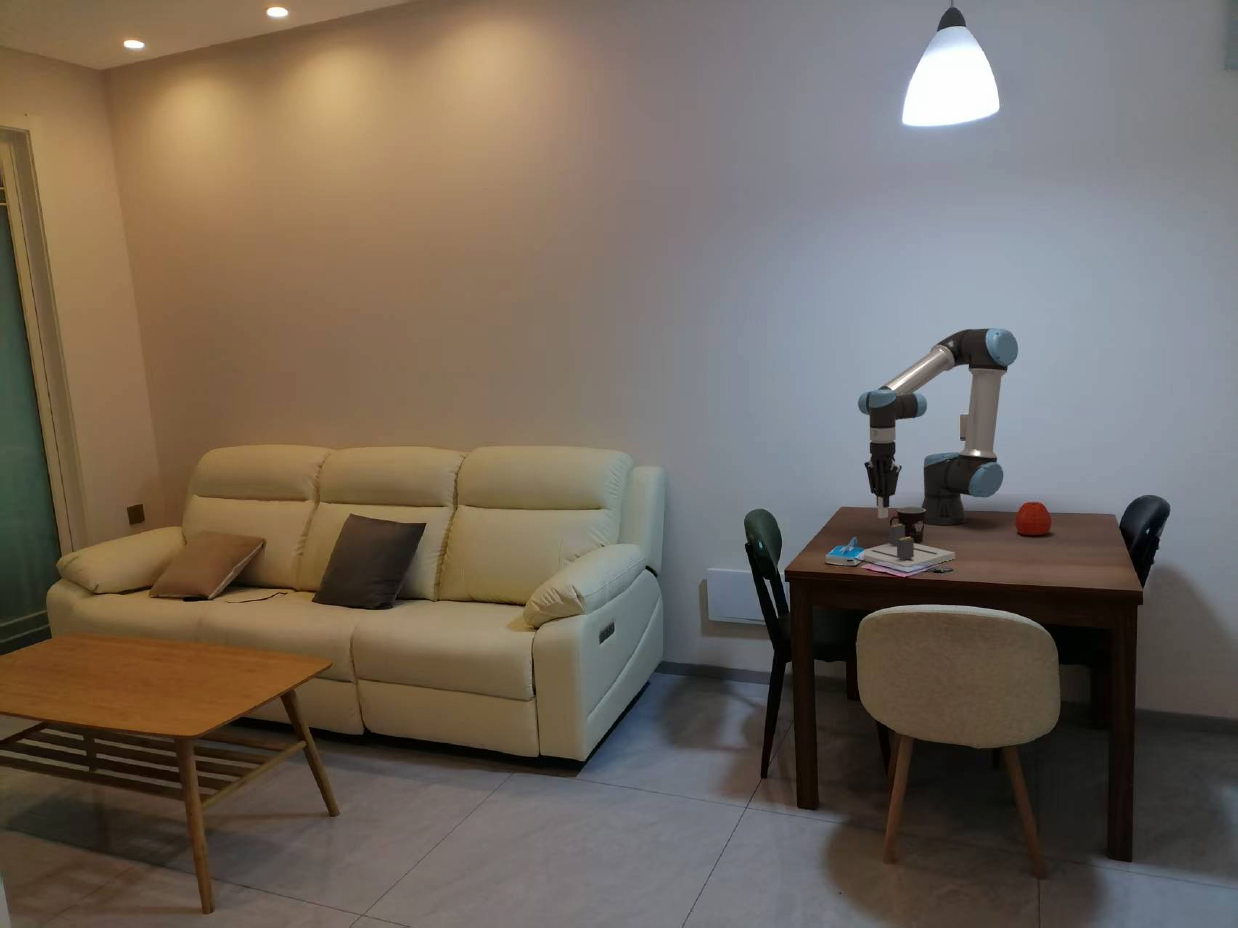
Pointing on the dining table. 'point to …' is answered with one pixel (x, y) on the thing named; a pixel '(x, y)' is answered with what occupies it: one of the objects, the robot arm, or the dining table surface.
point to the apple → (1033, 519)
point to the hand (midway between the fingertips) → (883, 517)
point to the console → (920, 556)
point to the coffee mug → (912, 522)
